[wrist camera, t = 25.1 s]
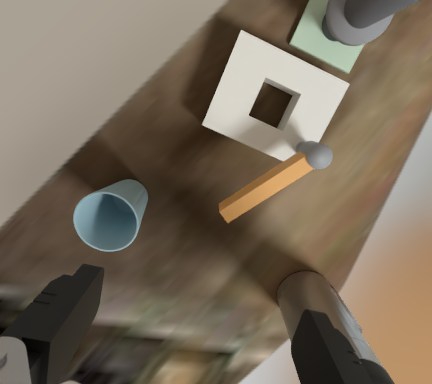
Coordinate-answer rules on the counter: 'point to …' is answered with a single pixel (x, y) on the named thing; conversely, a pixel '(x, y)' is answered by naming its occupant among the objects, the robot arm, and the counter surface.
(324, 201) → the counter surface
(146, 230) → the counter surface
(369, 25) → the plug
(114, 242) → the cup
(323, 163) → the tan piece
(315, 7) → the pad
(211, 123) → the socket block
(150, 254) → the counter surface
